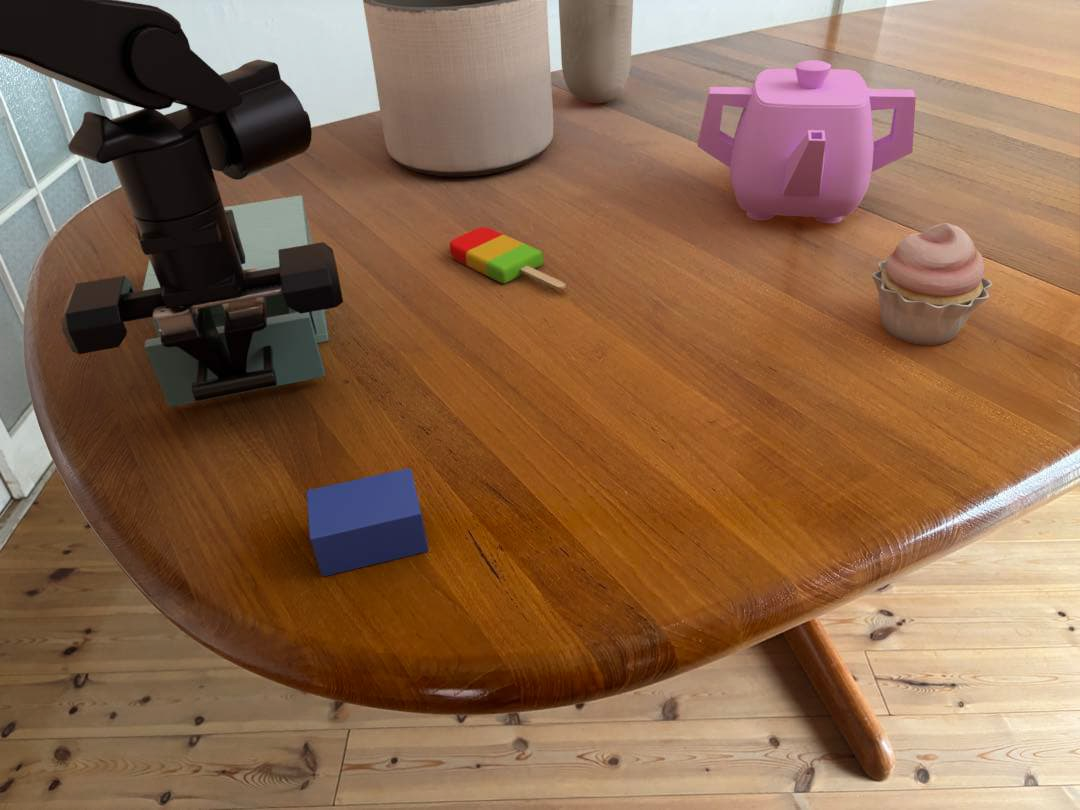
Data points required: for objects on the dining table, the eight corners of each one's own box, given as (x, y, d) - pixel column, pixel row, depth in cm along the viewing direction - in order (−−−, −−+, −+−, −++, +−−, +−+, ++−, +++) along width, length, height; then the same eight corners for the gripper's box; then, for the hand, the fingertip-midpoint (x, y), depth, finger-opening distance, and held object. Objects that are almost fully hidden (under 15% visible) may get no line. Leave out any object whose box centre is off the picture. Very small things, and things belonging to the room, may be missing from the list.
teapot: (799, 256, 83) (824, 105, 74) (676, 200, 95) (683, 64, 86) (916, 203, 91) (951, 61, 82) (789, 158, 103) (807, 30, 94)
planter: (584, 157, 107) (581, -12, 94) (421, 197, 100) (394, 19, 87) (512, 110, 123) (501, -40, 111) (367, 141, 116) (338, -15, 104)
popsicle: (485, 239, 90) (483, 223, 89) (583, 285, 81) (583, 267, 80) (445, 257, 87) (443, 241, 86) (543, 307, 78) (542, 289, 77)
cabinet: (328, 341, 75) (309, 265, 70) (172, 370, 73) (141, 294, 68) (318, 263, 87) (301, 194, 83) (183, 287, 85) (158, 217, 80)
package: (429, 551, 54) (421, 513, 52) (322, 577, 53) (309, 539, 51) (418, 504, 58) (410, 467, 55) (317, 527, 56) (305, 490, 54)
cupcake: (842, 331, 72) (864, 226, 66) (891, 289, 77) (916, 188, 71) (949, 371, 67) (983, 261, 60) (994, 323, 72) (1030, 217, 66)
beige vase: (550, 101, 125) (541, -114, 108) (601, 86, 130) (600, -123, 113) (591, 116, 119) (588, -110, 102) (643, 100, 124) (649, -119, 106)
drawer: (329, 411, 65) (312, 349, 62) (164, 444, 63) (136, 383, 59) (315, 294, 80) (301, 239, 77) (181, 318, 78) (160, 262, 74)
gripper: (309, 143, 63) (349, 316, 73) (50, 180, 60) (127, 357, 69) (319, 199, 55) (362, 386, 64) (17, 247, 51) (110, 437, 61)
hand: (240, 388), depth 65 cm, fingers closed, pressing on drawer
